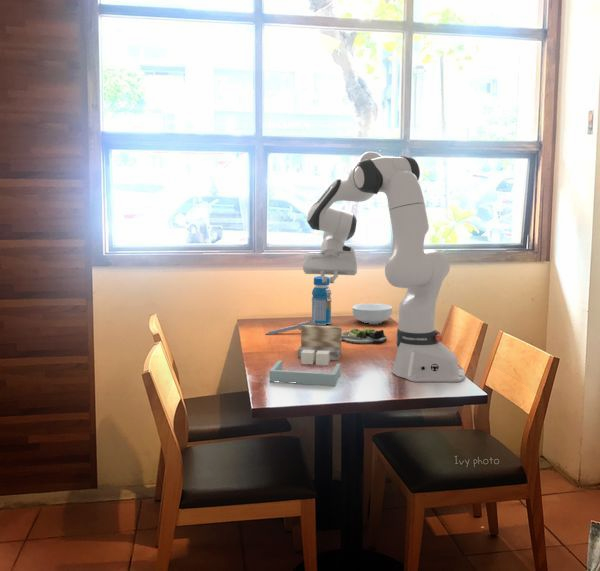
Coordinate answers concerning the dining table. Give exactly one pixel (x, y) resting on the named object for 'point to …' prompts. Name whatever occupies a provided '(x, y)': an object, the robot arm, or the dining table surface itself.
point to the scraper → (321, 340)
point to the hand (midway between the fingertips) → (328, 282)
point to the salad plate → (364, 336)
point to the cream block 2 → (322, 357)
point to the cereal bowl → (372, 312)
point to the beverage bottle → (321, 301)
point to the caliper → (292, 327)
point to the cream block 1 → (308, 356)
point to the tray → (304, 376)
